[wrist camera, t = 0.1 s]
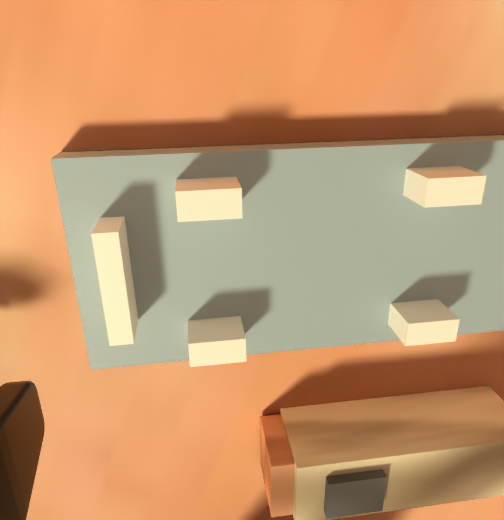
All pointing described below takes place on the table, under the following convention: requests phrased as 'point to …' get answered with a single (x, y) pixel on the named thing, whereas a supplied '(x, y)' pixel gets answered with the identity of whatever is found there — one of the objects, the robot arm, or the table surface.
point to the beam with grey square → (383, 453)
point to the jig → (283, 246)
